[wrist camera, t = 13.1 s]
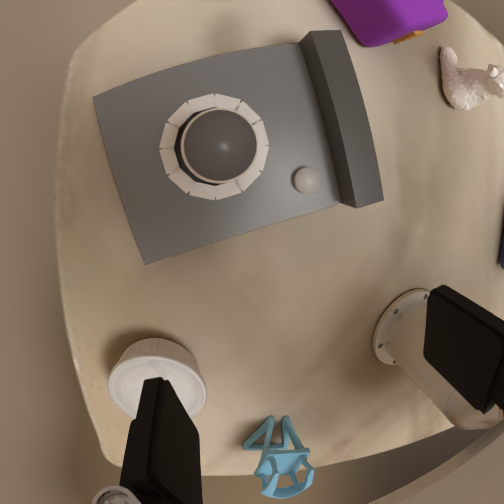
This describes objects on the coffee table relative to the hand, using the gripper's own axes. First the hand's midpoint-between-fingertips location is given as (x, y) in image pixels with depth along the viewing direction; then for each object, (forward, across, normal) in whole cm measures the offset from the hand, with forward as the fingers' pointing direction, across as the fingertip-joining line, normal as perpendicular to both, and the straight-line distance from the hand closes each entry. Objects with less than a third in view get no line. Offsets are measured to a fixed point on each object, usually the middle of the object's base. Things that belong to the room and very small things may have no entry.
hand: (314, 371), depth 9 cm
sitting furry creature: (+23, -34, -13) cm, 43 cm away
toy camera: (+23, -23, -23) cm, 40 cm away
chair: (+24, +3, +32) cm, 40 cm away
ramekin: (+23, +14, +14) cm, 30 cm away
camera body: (+22, -1, -9) cm, 24 cm away
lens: (+21, +1, -8) cm, 23 cm away
